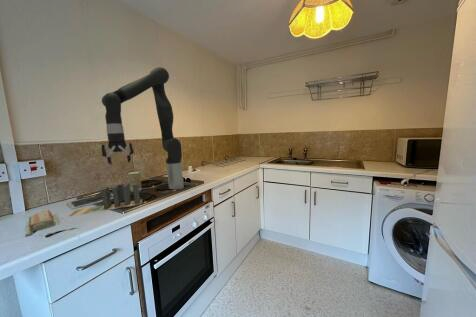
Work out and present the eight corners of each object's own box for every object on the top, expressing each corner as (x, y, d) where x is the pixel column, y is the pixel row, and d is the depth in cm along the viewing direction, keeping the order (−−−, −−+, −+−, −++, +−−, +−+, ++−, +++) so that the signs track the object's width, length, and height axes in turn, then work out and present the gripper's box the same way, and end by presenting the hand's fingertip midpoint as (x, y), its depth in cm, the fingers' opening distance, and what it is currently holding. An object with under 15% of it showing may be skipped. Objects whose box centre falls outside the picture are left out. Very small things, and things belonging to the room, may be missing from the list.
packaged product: (59, 216, 79) (23, 226, 72) (61, 227, 80) (26, 238, 72) (55, 206, 91) (24, 214, 84) (57, 216, 92) (26, 224, 85)
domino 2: (121, 203, 100) (118, 185, 99) (119, 206, 96) (116, 187, 94) (117, 204, 100) (114, 185, 98) (114, 207, 95) (111, 188, 94)
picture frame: (110, 195, 122) (67, 205, 106) (109, 191, 121) (66, 201, 106) (118, 200, 111) (72, 212, 96) (117, 195, 111) (71, 207, 95)
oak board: (142, 201, 105) (142, 199, 105) (141, 205, 98) (141, 203, 98) (75, 212, 95) (75, 209, 94) (68, 218, 87) (68, 216, 87)
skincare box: (130, 192, 124) (127, 173, 123) (131, 190, 128) (129, 172, 127) (140, 190, 126) (138, 172, 124) (142, 189, 130) (140, 171, 128)
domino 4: (130, 202, 102) (128, 183, 101) (129, 205, 97) (126, 186, 96) (126, 202, 101) (124, 184, 100) (125, 205, 97) (122, 186, 95)
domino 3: (120, 202, 106) (118, 184, 104) (130, 200, 108) (128, 183, 106) (120, 203, 104) (117, 185, 103) (130, 201, 106) (127, 184, 105)
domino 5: (140, 200, 103) (137, 182, 102) (139, 203, 99) (136, 184, 98) (136, 201, 103) (133, 183, 101) (135, 204, 98) (132, 185, 97)
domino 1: (111, 205, 99) (108, 186, 97) (108, 208, 94) (105, 189, 93) (106, 205, 98) (103, 187, 97) (104, 209, 93) (101, 189, 92)
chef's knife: (104, 218, 86) (101, 217, 88) (104, 216, 86) (101, 214, 88) (48, 240, 70) (44, 237, 71) (47, 237, 70) (44, 234, 71)
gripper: (131, 132, 107) (135, 160, 109) (101, 133, 102) (106, 163, 104) (129, 131, 100) (133, 162, 102) (97, 133, 95) (102, 165, 97)
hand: (119, 163), depth 103 cm, fingers open, 8 cm apart
